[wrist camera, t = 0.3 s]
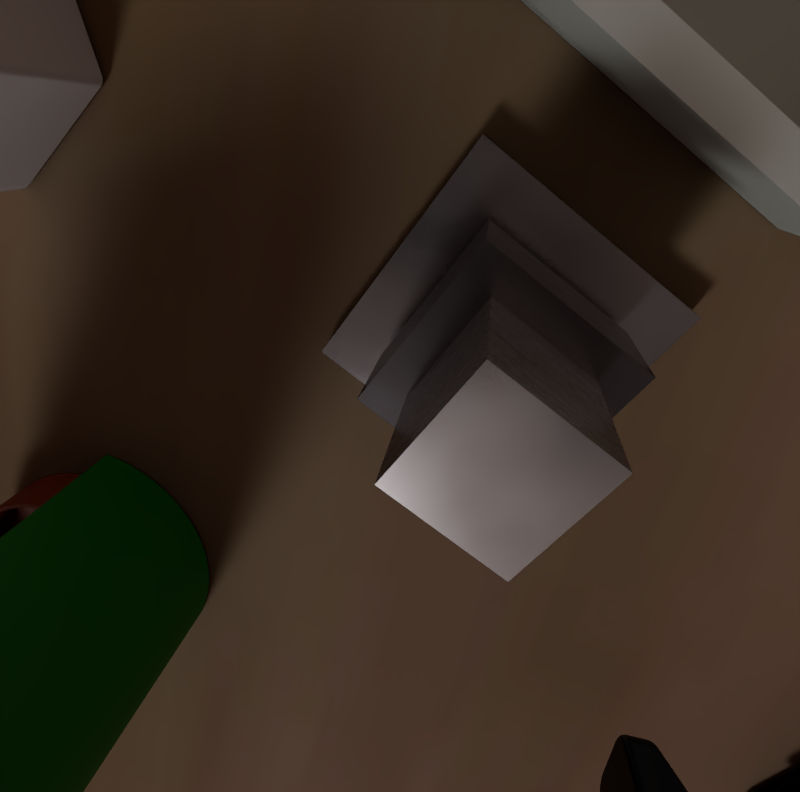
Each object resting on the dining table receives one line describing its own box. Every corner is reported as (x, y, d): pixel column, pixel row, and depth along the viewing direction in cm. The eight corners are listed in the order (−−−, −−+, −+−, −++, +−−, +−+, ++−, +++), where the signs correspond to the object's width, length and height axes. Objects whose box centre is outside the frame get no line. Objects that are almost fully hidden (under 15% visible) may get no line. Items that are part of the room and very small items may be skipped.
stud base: (692, 310, 18) (708, 324, 17) (512, 483, 21) (513, 507, 20) (483, 134, 17) (481, 134, 16) (328, 343, 20) (315, 359, 19)
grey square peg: (627, 331, 17) (713, 470, 10) (508, 450, 19) (512, 633, 12) (489, 219, 16) (479, 282, 9) (381, 353, 18) (308, 487, 11)
